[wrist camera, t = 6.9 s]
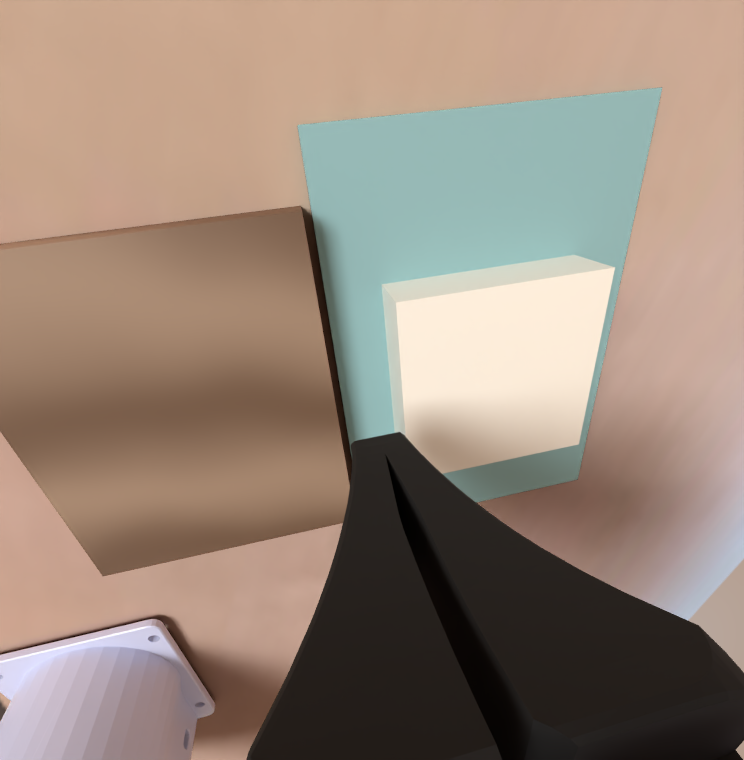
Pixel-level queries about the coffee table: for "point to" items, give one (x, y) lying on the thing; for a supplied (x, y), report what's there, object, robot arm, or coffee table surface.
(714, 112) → the coffee table surface
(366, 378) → the mat
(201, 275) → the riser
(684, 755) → the robot arm
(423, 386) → the cream flat block
